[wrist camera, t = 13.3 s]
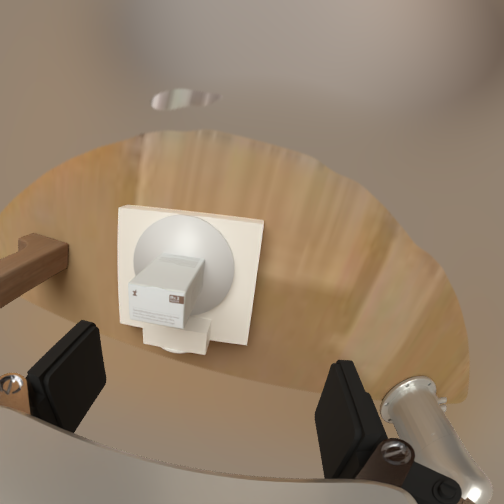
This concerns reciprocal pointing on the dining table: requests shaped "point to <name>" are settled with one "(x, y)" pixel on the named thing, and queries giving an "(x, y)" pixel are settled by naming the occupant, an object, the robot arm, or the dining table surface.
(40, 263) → the wooden block
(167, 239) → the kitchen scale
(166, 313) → the skincare box
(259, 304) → the dining table surface
